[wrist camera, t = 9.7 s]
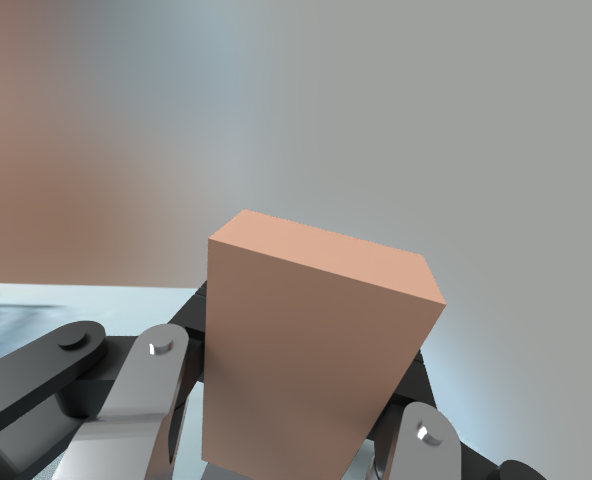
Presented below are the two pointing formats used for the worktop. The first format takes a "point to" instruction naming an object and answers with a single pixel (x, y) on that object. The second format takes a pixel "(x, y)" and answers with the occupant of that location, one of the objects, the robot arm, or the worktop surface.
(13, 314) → the worktop surface
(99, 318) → the worktop surface
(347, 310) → the salmon pink domino
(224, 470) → the pad
